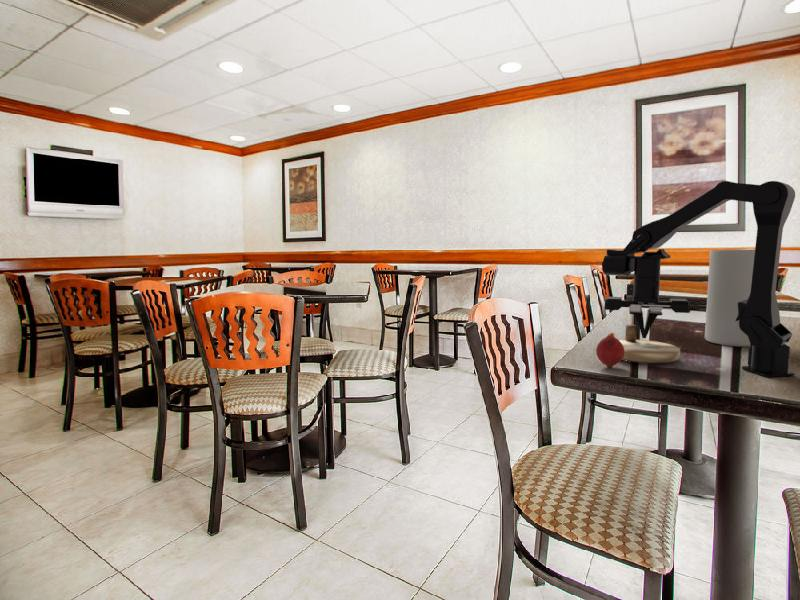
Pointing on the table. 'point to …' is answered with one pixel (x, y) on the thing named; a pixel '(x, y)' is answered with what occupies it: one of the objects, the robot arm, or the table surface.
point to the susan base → (647, 362)
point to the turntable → (647, 349)
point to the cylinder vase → (727, 295)
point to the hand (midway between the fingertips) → (644, 338)
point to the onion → (610, 350)
